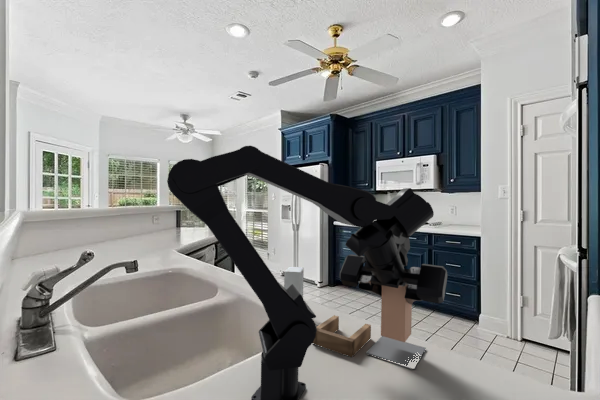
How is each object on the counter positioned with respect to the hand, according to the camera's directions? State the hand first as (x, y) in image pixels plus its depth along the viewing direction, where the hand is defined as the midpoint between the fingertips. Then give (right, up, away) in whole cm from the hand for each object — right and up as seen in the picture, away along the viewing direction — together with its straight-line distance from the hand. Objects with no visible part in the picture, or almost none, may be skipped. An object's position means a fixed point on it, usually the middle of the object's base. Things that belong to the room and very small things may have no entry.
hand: (398, 299), depth 60 cm
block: (-1, -7, -1) cm, 7 cm away
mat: (-1, -10, -1) cm, 10 cm away
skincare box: (-22, -10, +17) cm, 29 cm away
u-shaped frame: (-11, -10, +3) cm, 15 cm away
